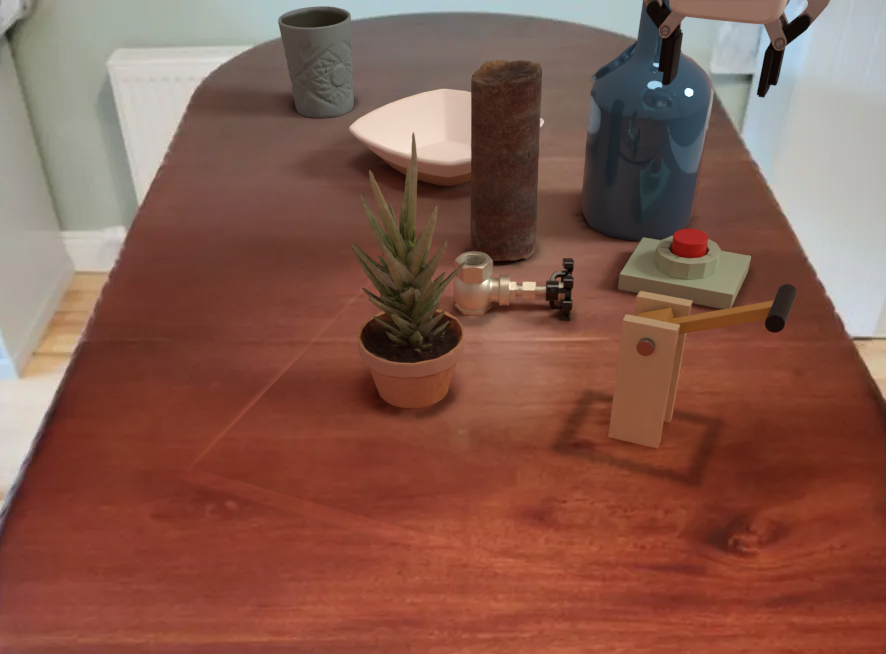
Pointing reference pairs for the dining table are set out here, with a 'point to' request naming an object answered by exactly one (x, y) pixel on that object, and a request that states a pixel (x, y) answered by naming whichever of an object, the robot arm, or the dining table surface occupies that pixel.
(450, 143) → the bowl
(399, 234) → the potted plant
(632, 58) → the wine bottle
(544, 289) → the valve
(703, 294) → the button block
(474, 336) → the dining table surface
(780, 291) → the lever
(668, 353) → the bracket
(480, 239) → the brown textured cylinder
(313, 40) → the grey embossed cup
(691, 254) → the button
